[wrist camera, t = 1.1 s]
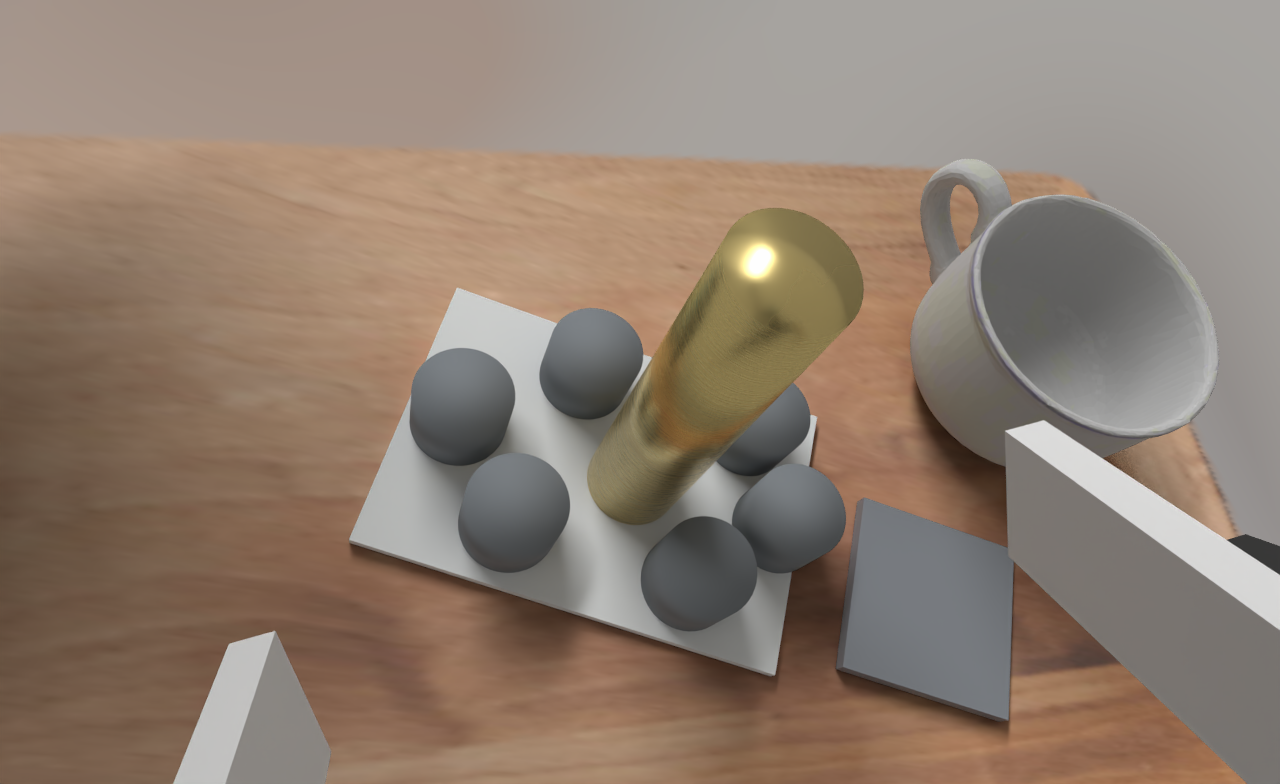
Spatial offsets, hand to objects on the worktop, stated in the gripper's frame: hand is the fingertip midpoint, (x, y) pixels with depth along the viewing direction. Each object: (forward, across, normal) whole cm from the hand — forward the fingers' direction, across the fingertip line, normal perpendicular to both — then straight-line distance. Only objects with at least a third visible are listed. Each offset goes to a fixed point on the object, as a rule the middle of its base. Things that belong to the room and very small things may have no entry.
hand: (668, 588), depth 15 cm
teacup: (+23, +18, -9) cm, 30 cm away
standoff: (+17, +1, -7) cm, 18 cm away
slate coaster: (+14, +11, -15) cm, 23 cm away
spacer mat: (+17, 0, -7) cm, 18 cm away
